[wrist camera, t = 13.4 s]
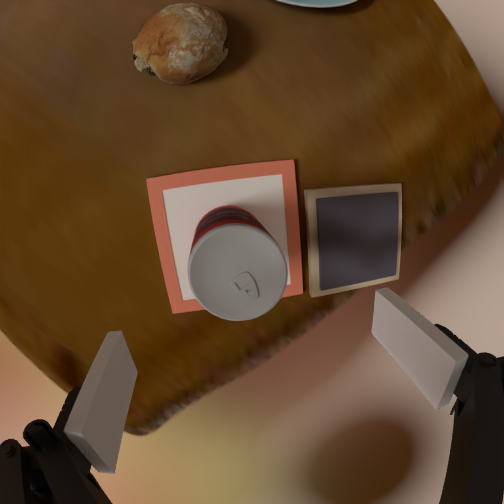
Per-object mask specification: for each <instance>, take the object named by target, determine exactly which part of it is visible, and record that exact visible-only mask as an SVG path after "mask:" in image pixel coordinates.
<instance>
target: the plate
mask: <svg viewBox="0 0 504 504" xmlns="http://www.w3.org/2000/svg"><path fill="white" fill-rule="evenodd" d="M276 1H279V2H282V3H287V4H291V5H297V6H303V7H315V8H330V7H339V6H344V5H347V4H351V3H353V2H356V1H358V0H276Z"/></svg>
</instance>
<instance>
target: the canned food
mask: <svg viewBox="0 0 504 504" xmlns="http://www.w3.org/2000/svg"><path fill="white" fill-rule="evenodd" d="M287 279H288V268H287V263H286V259H285V256H284V254H283V252H282V250H281V248H280V246H279V245H278V243H277V242H276V241H275V239H274V238H273V237H272V236H271V234H270V233H269V232H268V231H267V230H266V229H265V228H264V226H263V225H262V224H261V223H260V222H259V221H258V220H257V218H256V217H255V216H254V215H252V214H251V213H250V212H249V211H247V210H245V209H243V208H240V207H237V206H221V207H218V208H214V209H213V210H211V211H209V212H208V213H207V214H205V215H204V216H203V217H202V219H201V220H200V221H199V223H198V225H197V227H196V230H195V234H194V238H193V242H192V246H191V250H190V255H189V259H188V280H189V285H190V288H191V290H192V293H193V295H194V297H195V298H196V299H197V301H198V302H199V303H200V304H201V305H202V306H203V307H204V308H205V309H206V310H207V311H209V312H210V313H212V314H213V315H215V316H218V317H220V318H223V319H227V320H234V321H243V320H250V319H253V318H256V317H259V316H261V315H263V314H265V313H267V312H268V311H269V310H270V309H272V308H273V307H274V306H275V305H276V304H277V302H278V301H279V300H280V298H281V297H282V295H283V293H284V291H285V288H286V285H287Z"/></svg>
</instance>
